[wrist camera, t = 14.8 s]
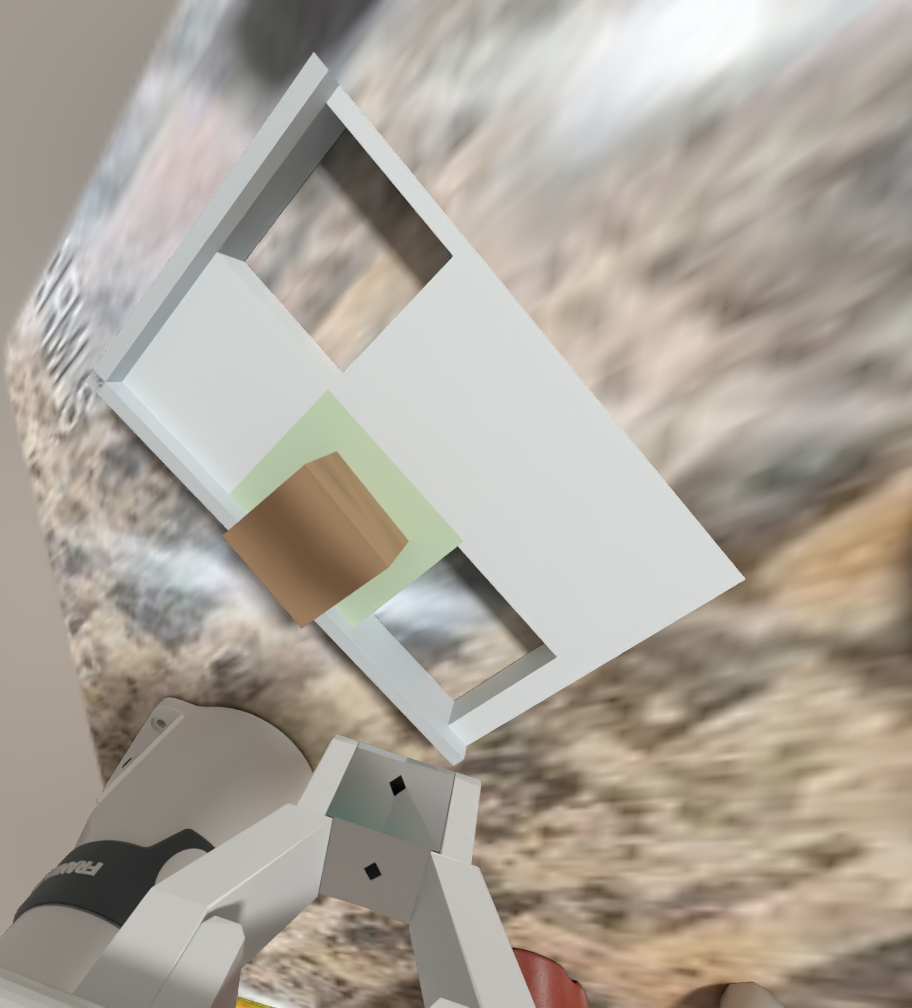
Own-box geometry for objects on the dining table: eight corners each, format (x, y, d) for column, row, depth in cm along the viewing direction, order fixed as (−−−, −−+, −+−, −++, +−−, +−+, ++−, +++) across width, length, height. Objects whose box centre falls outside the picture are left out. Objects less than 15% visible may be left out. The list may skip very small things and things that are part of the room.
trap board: (462, 726, 35) (453, 765, 32) (135, 379, 32) (85, 380, 28) (728, 561, 28) (754, 589, 25) (345, 95, 25) (313, 52, 22)
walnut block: (331, 596, 31) (301, 628, 27) (262, 514, 30) (221, 536, 27) (408, 541, 29) (388, 567, 25) (336, 451, 28) (304, 464, 24)
